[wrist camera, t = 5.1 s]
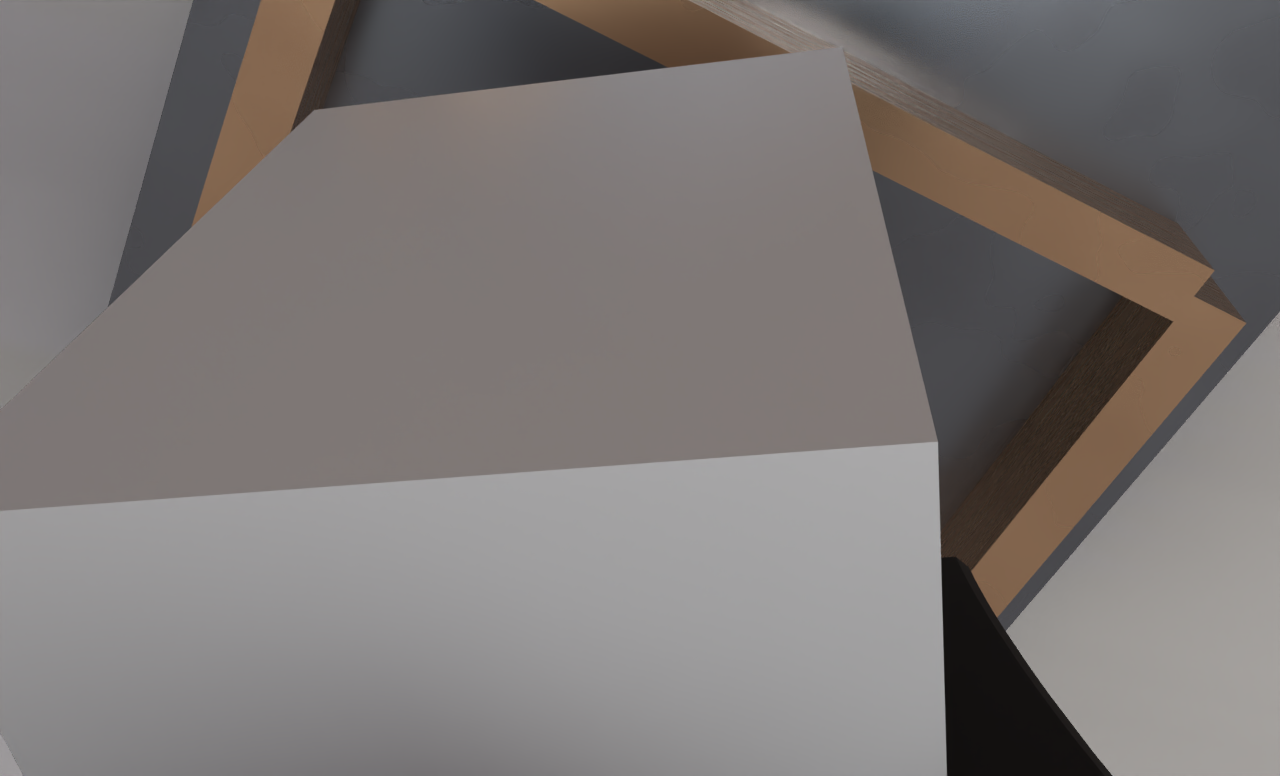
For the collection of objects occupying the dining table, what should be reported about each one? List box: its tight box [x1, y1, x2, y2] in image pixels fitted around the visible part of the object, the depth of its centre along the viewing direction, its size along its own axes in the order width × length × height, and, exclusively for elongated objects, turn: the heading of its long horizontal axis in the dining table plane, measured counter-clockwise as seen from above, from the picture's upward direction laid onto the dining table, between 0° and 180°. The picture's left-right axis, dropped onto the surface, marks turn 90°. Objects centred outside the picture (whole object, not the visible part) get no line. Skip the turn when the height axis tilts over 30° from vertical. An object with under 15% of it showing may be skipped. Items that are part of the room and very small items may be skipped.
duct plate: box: [108, 0, 1280, 631], centre depth 17 cm, size 15×14×2 cm
